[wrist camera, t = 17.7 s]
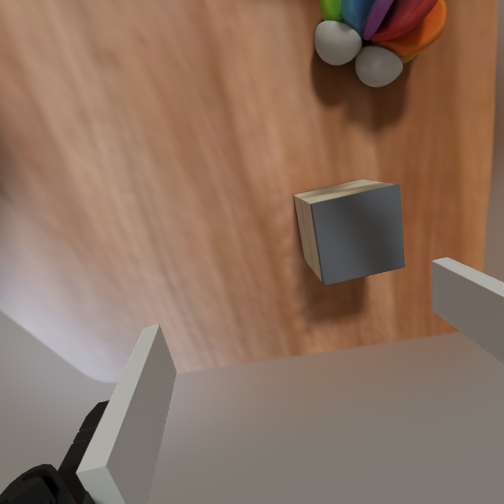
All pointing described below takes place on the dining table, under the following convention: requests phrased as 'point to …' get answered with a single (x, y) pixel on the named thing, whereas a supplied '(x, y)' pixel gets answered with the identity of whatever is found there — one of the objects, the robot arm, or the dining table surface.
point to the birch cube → (351, 230)
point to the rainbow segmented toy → (377, 34)
